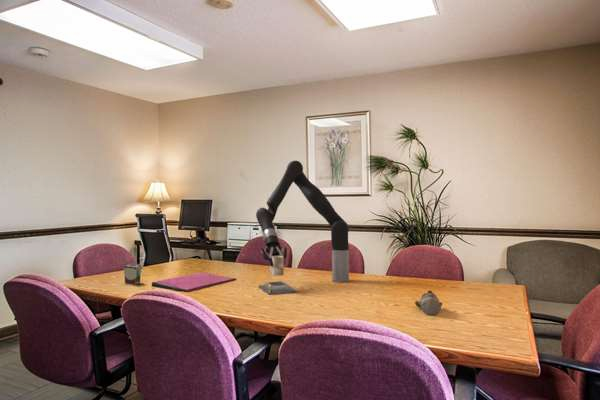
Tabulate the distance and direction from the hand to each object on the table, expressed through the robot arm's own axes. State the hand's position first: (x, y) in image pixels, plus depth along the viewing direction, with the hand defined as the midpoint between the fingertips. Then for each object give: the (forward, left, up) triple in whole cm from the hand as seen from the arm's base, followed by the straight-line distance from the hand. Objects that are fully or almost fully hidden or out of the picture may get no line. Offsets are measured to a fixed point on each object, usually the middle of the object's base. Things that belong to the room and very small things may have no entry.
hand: (277, 265), depth 199 cm
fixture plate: (+1, -1, -12) cm, 12 cm away
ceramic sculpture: (-68, +29, -13) cm, 75 cm away
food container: (+81, -6, -13) cm, 82 cm away
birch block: (+1, -2, -5) cm, 5 cm away
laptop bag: (+49, -10, -13) cm, 52 cm away
